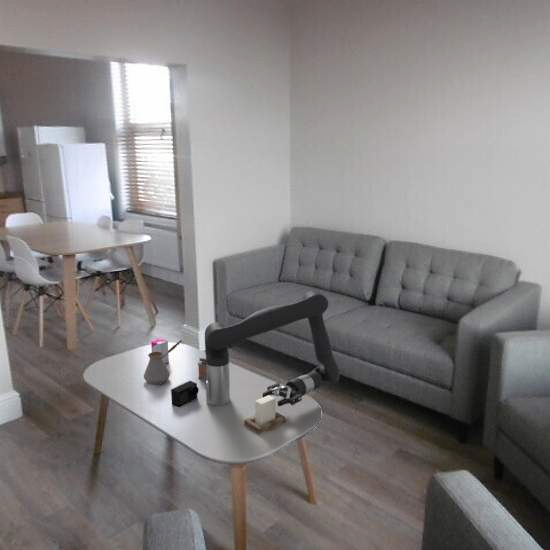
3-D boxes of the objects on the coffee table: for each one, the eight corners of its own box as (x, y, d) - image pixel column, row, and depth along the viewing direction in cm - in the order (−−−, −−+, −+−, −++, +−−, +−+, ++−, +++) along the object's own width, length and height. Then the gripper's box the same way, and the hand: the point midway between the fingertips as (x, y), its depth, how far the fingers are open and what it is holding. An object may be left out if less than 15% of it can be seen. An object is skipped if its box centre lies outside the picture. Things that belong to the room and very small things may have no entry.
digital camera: (180, 409, 211) (179, 393, 209) (171, 404, 214) (170, 389, 212) (199, 399, 218) (198, 384, 217) (190, 395, 222) (190, 380, 220)
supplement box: (169, 362, 254) (168, 340, 251) (160, 366, 249) (159, 344, 246) (160, 359, 257) (159, 337, 254) (151, 364, 252) (150, 341, 249)
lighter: (216, 378, 237) (216, 357, 235) (213, 381, 234) (213, 360, 232) (200, 376, 239) (199, 355, 237) (197, 379, 236) (196, 358, 234)
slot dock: (260, 434, 193) (260, 429, 192) (244, 424, 199) (244, 420, 198) (285, 421, 201) (285, 416, 201) (269, 412, 208) (269, 408, 207)
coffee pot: (154, 389, 227) (152, 357, 223) (138, 381, 234) (136, 350, 230) (192, 372, 243) (190, 342, 239) (175, 366, 250) (174, 336, 246)
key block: (255, 424, 199) (255, 400, 197) (269, 418, 204) (269, 394, 201) (261, 428, 197) (261, 404, 194) (275, 421, 201) (275, 398, 199)
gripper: (288, 372, 215) (258, 384, 204) (313, 383, 204) (283, 397, 194) (287, 389, 216) (258, 402, 206) (313, 401, 206) (283, 415, 196)
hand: (270, 399), depth 200 cm, fingers open, 8 cm apart
